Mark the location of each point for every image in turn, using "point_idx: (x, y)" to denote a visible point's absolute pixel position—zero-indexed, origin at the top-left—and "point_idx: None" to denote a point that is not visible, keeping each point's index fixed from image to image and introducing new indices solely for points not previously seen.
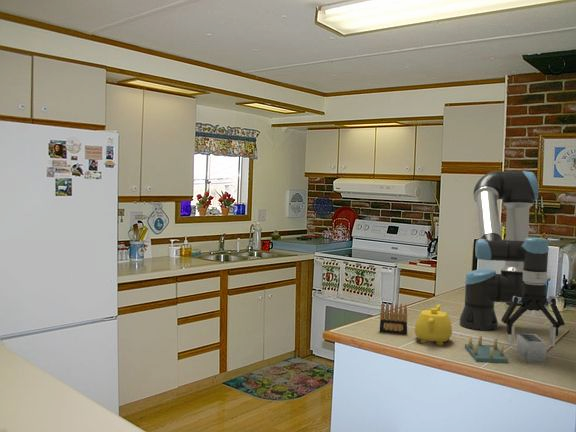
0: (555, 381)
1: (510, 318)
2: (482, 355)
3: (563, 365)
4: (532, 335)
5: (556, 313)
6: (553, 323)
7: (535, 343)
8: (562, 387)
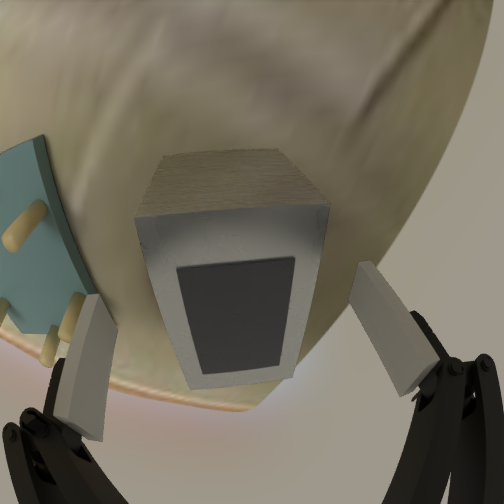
0: (237, 393)
1: (59, 471)
2: (25, 311)
3: (330, 299)
4: (271, 275)
5: (453, 471)
6: (412, 419)
7: (231, 383)
8: (240, 406)
